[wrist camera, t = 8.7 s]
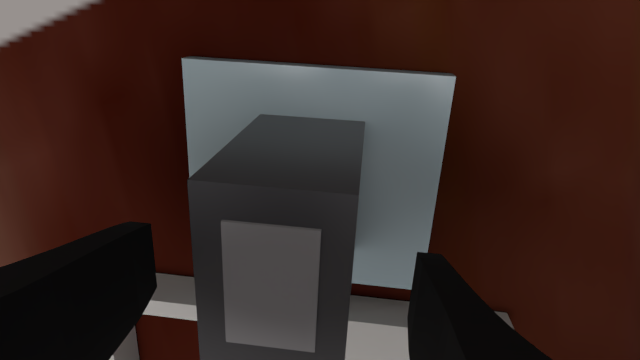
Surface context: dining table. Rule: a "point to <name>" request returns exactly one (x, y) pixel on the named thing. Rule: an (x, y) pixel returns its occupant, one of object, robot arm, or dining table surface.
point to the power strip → (362, 335)
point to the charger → (277, 240)
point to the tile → (341, 104)
